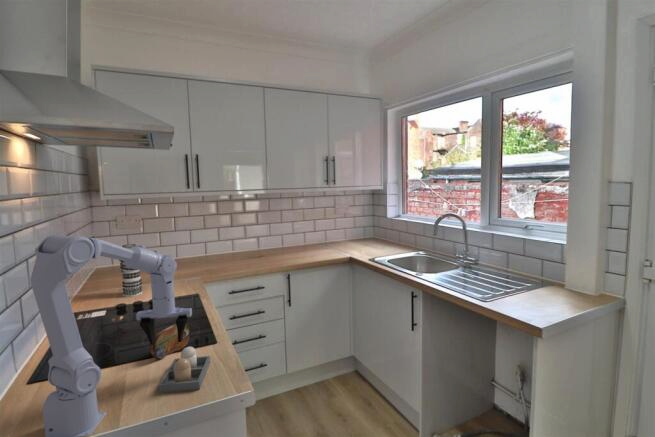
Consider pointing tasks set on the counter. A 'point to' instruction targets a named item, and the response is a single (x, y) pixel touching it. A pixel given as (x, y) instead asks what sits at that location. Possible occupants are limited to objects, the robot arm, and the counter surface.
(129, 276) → the decorative candle
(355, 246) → the counter surface
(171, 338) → the tin
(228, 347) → the counter surface
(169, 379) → the grey shallow tray
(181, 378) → the brown egg
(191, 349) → the egg
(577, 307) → the counter surface
